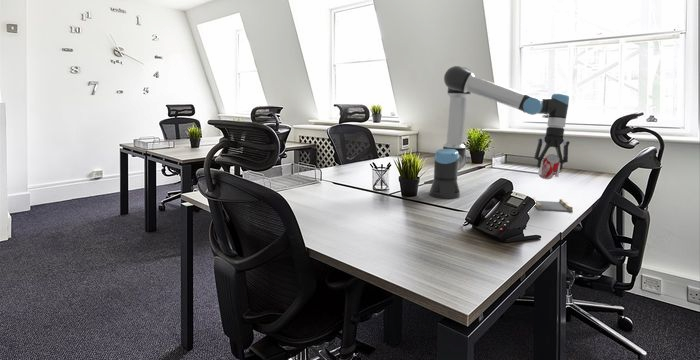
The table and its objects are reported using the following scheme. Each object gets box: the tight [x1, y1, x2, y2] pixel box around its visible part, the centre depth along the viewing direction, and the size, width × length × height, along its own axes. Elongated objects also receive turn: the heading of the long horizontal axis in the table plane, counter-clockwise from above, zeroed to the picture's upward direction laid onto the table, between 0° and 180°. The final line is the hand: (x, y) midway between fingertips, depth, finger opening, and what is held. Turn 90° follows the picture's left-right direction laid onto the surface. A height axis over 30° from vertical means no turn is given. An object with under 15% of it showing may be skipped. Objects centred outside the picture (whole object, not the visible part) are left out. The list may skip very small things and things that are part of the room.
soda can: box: [538, 153, 560, 180], centre depth 200 cm, size 7×7×12 cm
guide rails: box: [532, 197, 573, 211], centre depth 195 cm, size 16×14×2 cm
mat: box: [534, 200, 573, 213], centre depth 195 cm, size 16×14×1 cm
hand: (548, 175), depth 199 cm, fingers closed on soda can, 7 cm apart
